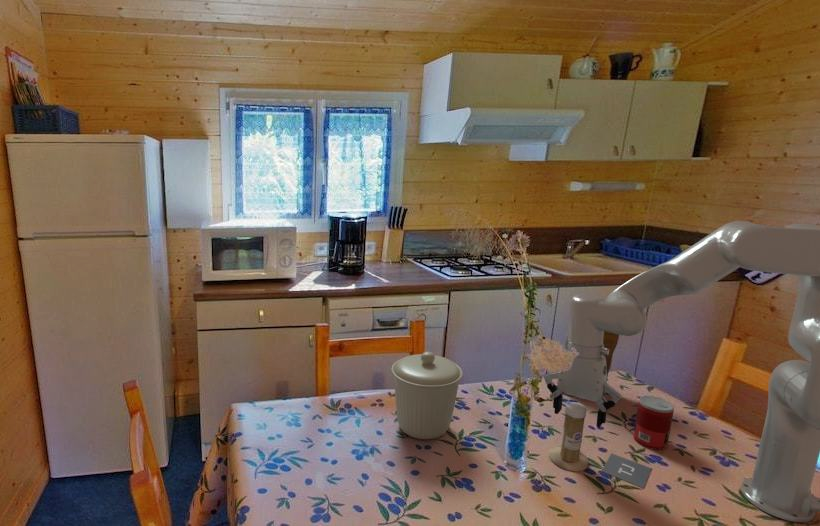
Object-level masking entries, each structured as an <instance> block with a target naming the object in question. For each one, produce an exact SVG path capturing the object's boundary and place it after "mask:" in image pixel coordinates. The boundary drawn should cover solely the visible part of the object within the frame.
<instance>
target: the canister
mask: <svg viewBox="0 0 820 526" xmlns="http://www.w3.org/2000/svg"><path fill="white" fill-rule="evenodd" d="M390 371H391V373H392V375H393V379H394V380H393V381H394V393H395V394H394V396H395V397H394V398H395V408H396V419H397V423H398V426H399V428H400V430H401V431H403V433H404V434H406V435H407V436H409V437H411V438H415V439H419V440H432V439H436V438H439V437H441V436H443V435H445V433H446V432H447V431H448V430H449V428H450V425H451V422H452V419H453V414H454V409H455V406H456V405H455V404H456V400H457V393H458V390H459V385H460V381H461V380H462V378H463V376H464V373H463V369H462V367H460V366H459V365H458V364H457V363H455V362H453V361H452V360H451V359H448V358H446V357H444V356H440V355H435V353H433V352H431V351H424V352H422V353H417V354H411V355H408V356H405V357H402V358H400V359H398V360H396V361H394V363H393V364H392V366H391V370H390Z"/></svg>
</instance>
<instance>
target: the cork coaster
mask: <svg viewBox="0 0 820 526" xmlns="http://www.w3.org/2000/svg"><path fill="white" fill-rule="evenodd" d="M561 446H562V445H561ZM561 446H555V447H552V448H551V449H550V450H549V453H548V458H549V460H550V461H551V463H553V464H554V465H555V466H557V467H559V468H561V469H563V470H565V471H570V472H582V471H585V470H586V469H587V468H588V467H589V459H588V457H587V456H586V455H585V454H584V453H583V452H581V451H580V455H579V457H580V459H579V461H578V462H574V463H572V462H567V461H565V460H563V459H562V458H561V456H560V452H561Z"/></svg>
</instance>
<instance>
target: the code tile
mask: <svg viewBox="0 0 820 526" xmlns="http://www.w3.org/2000/svg"><path fill="white" fill-rule="evenodd" d="M601 472H602V473H605V474H607V475H609V476H612V477H615V478H616V479H619V480H622V481H623V482H627V483H629V484H632V485H634V486H636V487H640V488H642V489H645V486H646V483H647V481H648V479H649V477H650V473H651V472H652V467H649V466H647V465H643V464H641V463H639V462H635V461H633V460H631V459H628V458H626V457H622V456H620V455H617V454H615V453H612V452H610V455H609V456H608V459H607V461H606V462H605V464H604V466H603V467H602V469H601Z"/></svg>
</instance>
